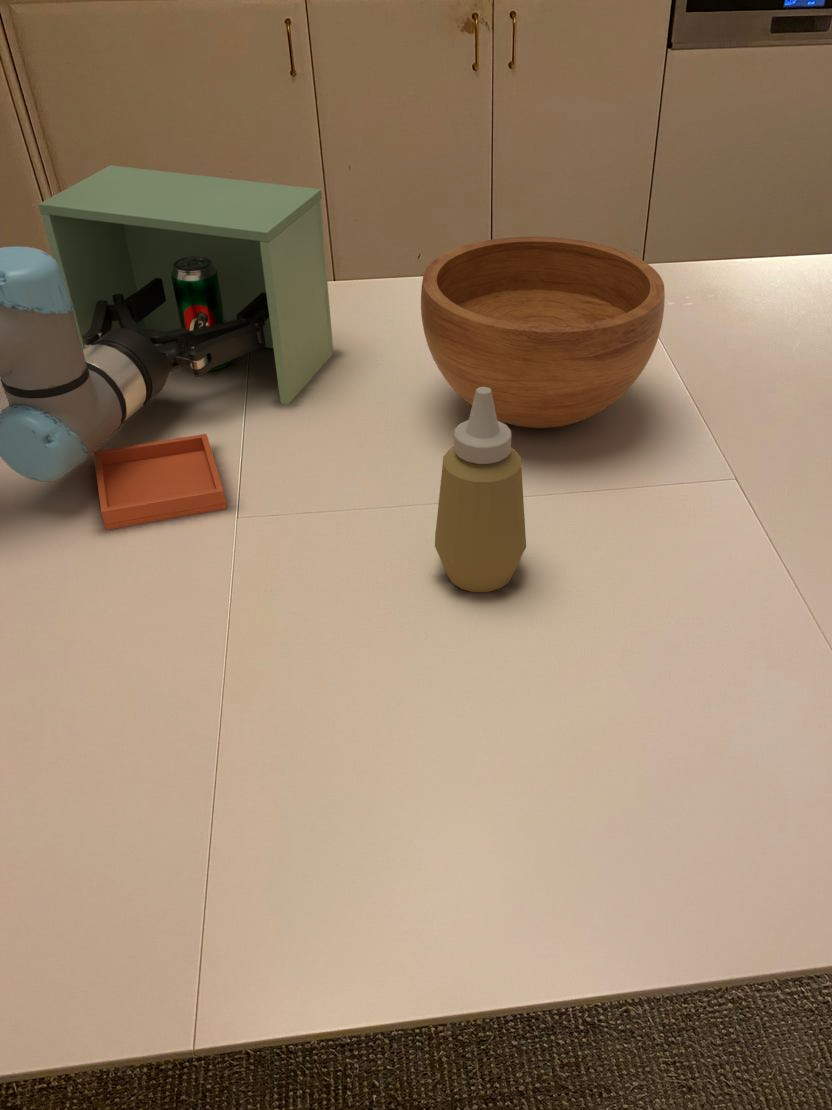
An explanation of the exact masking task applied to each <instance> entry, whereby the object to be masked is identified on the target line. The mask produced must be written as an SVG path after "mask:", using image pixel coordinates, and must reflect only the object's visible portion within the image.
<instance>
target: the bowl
mask: <svg viewBox="0 0 832 1110" xmlns="http://www.w3.org/2000/svg"><path fill="white" fill-rule="evenodd" d="M665 293H666V292H665V284H664V280H663V278H662V277H661V275H660V274H659V273H658V272H657V270H656V269H655V268H653V266H651V265H650V264H649V263H647V262H646V261H644V260H642V259H641V258H639V257H637V256H635V255H633V254H630V253H629V252H626V251H623V250H621V249H618V248H614V247H611V246H608V245H604V244H601V243H597V242H591V241H586V240H582V239H581V240H580V239H573V238H565V237H553V236H512V237H500V238H494V239H487V240H482V241H476V242H472V243H470V244H465V245H462V246H458V247H456V248H454V249H451V250H449V251H447V252H445V253H443V254H441V255H440V256H438V257H437V258H435V259H434V260H433V261H431V263H430V264H428V266H427V267H426V269H425V270H424V273H423V275H422V280H421V290H420V315H421V322H422V323H421V324H422V329H423V333H424V336H425V337H424V338H425V340H426V344H427V347H428V349H429V352H430V355H431V357H432V359H433V361H434V363H435V365H436V367H437V369H438V370H439V371H440V374H441V375H442V376H443V378H444V379H445V381H446V382H447V383H448V385H450V387H451V388H452V389H453V390H454V391H455V392H456V393H457V394H458V395H459V396H460V397H461V398H462V399H463V400H464V401H465V402H466V403H468V404H469V405H470V406H472V405H473V401H474V397H475V393H476V389H477V388H479V387H488V388H490V389H491V392H492V397H493V402H494V407H495V411H496V416H497V421H500V422H502V423H504V424H509V425H513V426H516V427H522V428H530V429H549V428H550V429H551V428H558V427H565V426H569V425H572V424H576V423H579V422H582V421H584V420H586V419H589V418H591V417H593V416H595V415H596V414H598V413H600V412H602V411H603V410H605V409H606V408H608V407H610V406H611V405H613V404H614V403H615V402H616V401H617V400H619V399H621V397H622V396H623V395H624V394H625V393H626V392H627V391H628V390H629V389H630V388H631V387H632V386H633V385H634V383H635V382H636V381H637V380H638V378H639V377H640V376H641V374H642V372H643V371H644V370H645V368H646V366H647V365H648V363H649V361H650V359H651V357H652V355H653V353H654V350H655V348H656V345H657V343H658V340H659V336H660V333H661V330H662V325H663V319H664V315H665V313H664V312H665V297H666V296H665V295H666V294H665Z"/></svg>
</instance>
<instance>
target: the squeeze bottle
mask: <svg viewBox="0 0 832 1110" xmlns="http://www.w3.org/2000/svg"><path fill="white" fill-rule="evenodd" d="M453 434H454V435H453V446H452V447H450V448H449V449H448V450H447V451H446V452H445V453H444V455H443V456H442V466H441V467H442V468H441V477H440V486H439V495H438V503H437V504H438V506H437V515H436V525H435V533H434V548H435V550H436V552H437V554H438V557H439V559H440V562H441V564H442V567H443V569H444V571H445V574H446V576H447V577H448V579H449V580H450V583H452V584H453V585H455V586H456V587H458V588H459V589H461V590H464V591H466V592H467V591H468V592H470V593H471V592H472V593H489V592H492V591H493V592H494V591H497V590H500V589H502V588H503V587H505V586H506V585H508V584H509V583H510V581H511V580H512V577H513V575H514V573H515V571H516V569H517V567H518V565H519V563H520V561H521V559H522V557H523V555H524V553H525V551H526V548H527V536H526V535H527V534H526V519H525V503H524V488H523V487H524V485H523V469H522V456H521V455H519V453H518V452H517V450H515V449H514V448H513V447H512V430H511V429H510V428H509V426H508V425H507V423H505V422H502V421H499V420H497V416H496V411H495V407H494V402H493V397H492V392H491V389H490V388H488V387H479V388H477V389H476V393H475V397H474V401H473V405H471V409H470V413H469V416H468V420H467V419H466V420H465V421H463V422H461V423H459V424H458V425H457V426H456V427H455V429H454V431H453Z"/></svg>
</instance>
